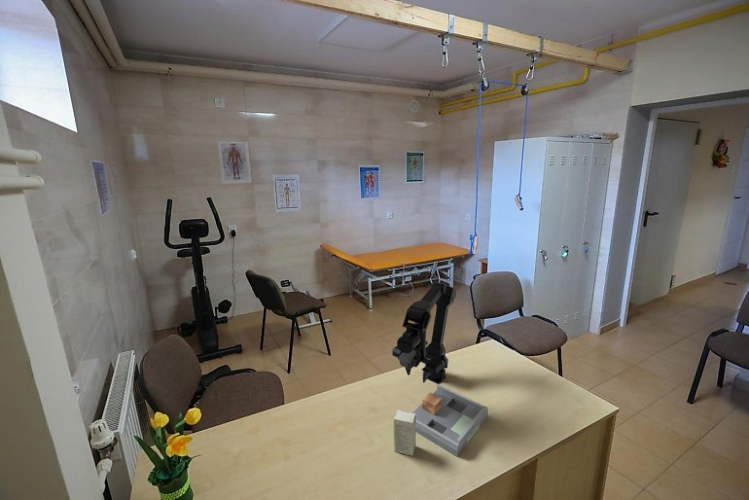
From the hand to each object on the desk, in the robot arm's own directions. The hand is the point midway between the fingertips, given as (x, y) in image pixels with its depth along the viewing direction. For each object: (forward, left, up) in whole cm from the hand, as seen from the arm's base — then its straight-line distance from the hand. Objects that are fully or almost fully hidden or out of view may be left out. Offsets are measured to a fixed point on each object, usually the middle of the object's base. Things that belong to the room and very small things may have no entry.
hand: (416, 378), depth 125 cm
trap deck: (+13, 0, -11) cm, 17 cm away
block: (+7, 0, -9) cm, 11 cm away
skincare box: (+9, -19, -11) cm, 24 cm away
